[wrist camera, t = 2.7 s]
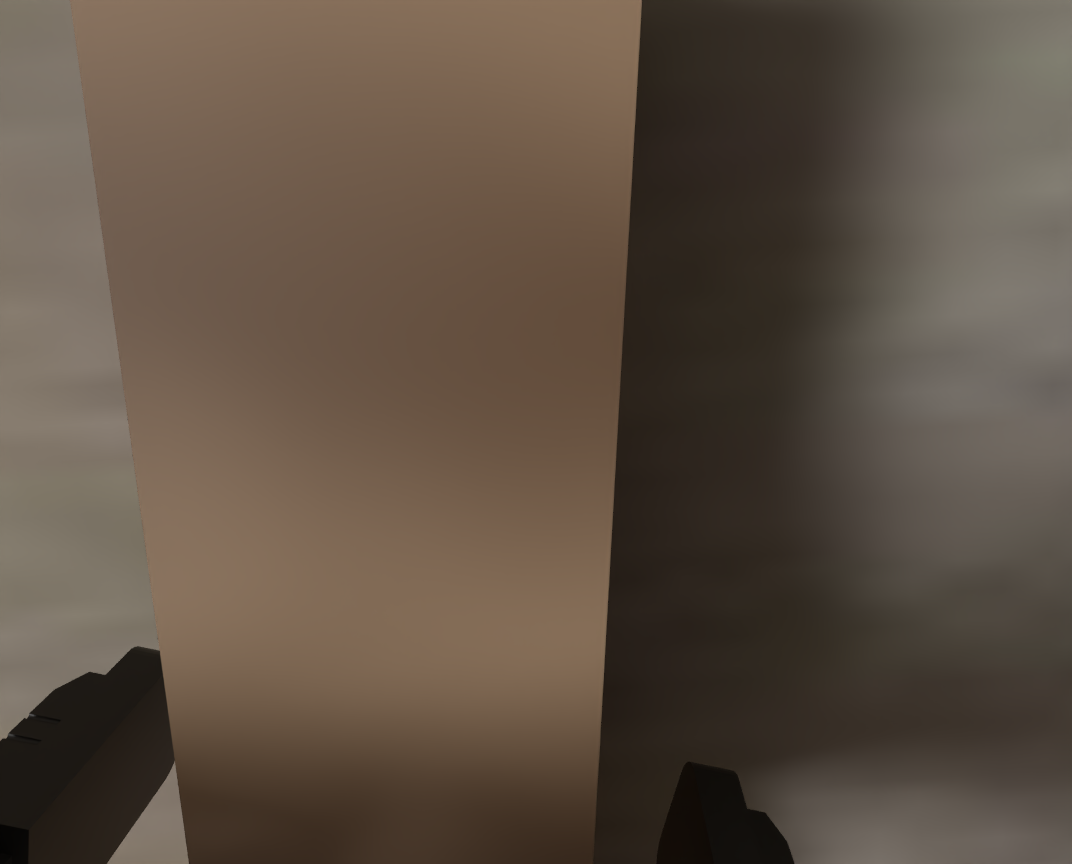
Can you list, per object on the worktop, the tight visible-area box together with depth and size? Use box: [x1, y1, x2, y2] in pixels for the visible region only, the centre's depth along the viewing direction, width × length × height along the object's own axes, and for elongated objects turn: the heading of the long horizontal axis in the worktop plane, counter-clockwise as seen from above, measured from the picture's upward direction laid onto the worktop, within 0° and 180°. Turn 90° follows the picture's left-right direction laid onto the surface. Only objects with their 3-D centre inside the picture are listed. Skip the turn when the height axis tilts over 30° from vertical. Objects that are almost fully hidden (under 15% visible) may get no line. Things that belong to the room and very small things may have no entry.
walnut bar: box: [70, 0, 642, 864], centre depth 12 cm, size 22×5×5 cm, turn 179°
